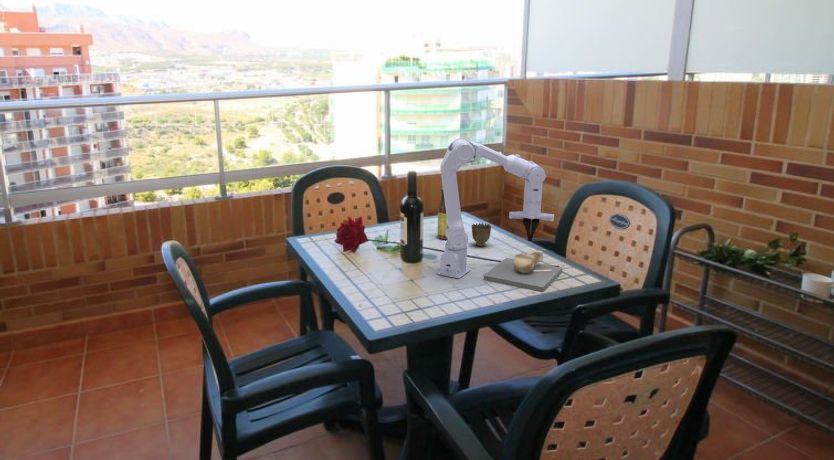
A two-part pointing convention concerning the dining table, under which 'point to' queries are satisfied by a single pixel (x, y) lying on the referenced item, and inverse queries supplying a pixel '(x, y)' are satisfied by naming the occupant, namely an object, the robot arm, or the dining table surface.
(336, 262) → the dining table surface
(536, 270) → the base plate
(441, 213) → the sauce bottle
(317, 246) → the dining table surface
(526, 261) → the beige rounded piece
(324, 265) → the dining table surface
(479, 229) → the cup
